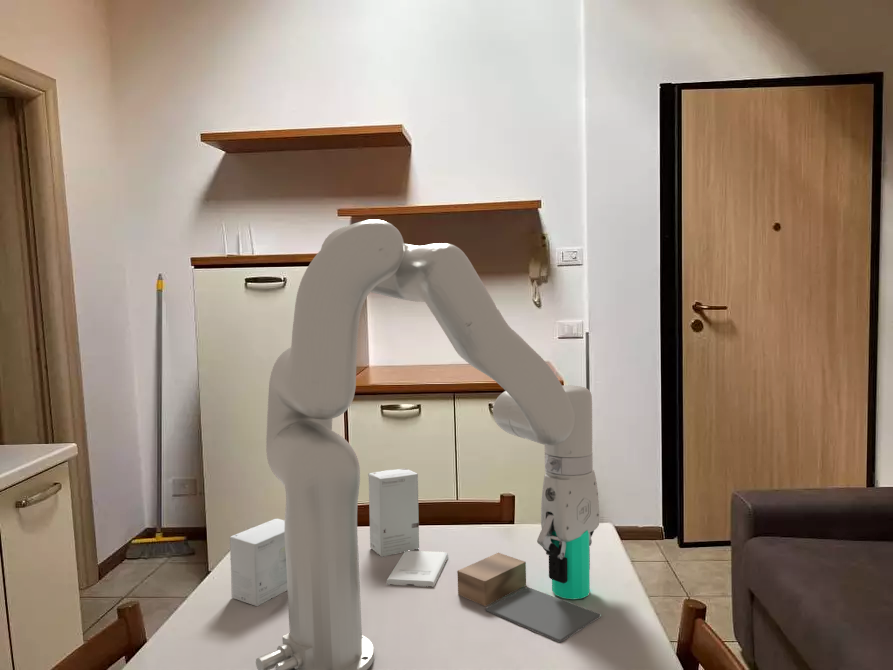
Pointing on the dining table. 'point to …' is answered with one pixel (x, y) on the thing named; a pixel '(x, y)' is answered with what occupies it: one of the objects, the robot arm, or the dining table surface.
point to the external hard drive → (418, 568)
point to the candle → (575, 569)
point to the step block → (491, 578)
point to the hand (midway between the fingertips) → (569, 573)
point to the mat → (543, 613)
